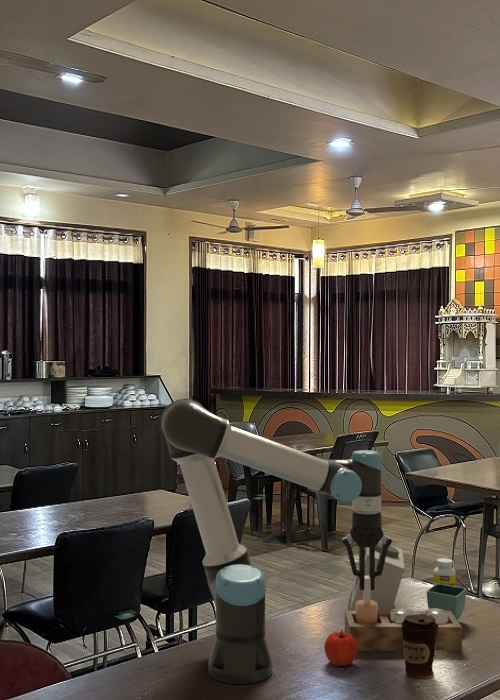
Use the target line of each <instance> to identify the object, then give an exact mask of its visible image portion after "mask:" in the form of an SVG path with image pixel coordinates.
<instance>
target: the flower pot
mask: <svg viewBox="0 0 500 700" xmlns="http://www.w3.org/2000/svg"><path fill="white" fill-rule="evenodd" d="M466 598H467V587H466V588H465V587H460V586H456V587H455V586H449V585H444V584H435V585H434V584H433V586H431V587H429V588H428V589H427V590H426V601H427V609H430V608H438V609H443V610H446V611H451V612H452V614H453V615H454V617H455V618H456V619H457V621H458V622H459V619H460V618H461V616H462V614H463V611H464V610H465V604H466Z"/></svg>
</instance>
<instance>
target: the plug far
mask: <svg viewBox="0 0 500 700" xmlns="http://www.w3.org/2000/svg"><path fill="white" fill-rule="evenodd" d="M425 611H426V615H427V616H431V617H433V618H435V619H436V621H435V623H437V624H448V612H447V611H446V610H443V609H438V608H430V609H428V608H427V609H425Z"/></svg>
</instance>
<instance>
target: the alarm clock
mask: <svg viewBox="0 0 500 700" xmlns="http://www.w3.org/2000/svg"><path fill="white" fill-rule="evenodd" d="M382 544H383V543H382V540H380V541H379V543H378V544H377V545H376V546H375V570H376V568H377V564H378V560H379V555H380V551H381V547H382ZM357 570H359V567H358V569H357ZM404 572H405V562H404V554H403V549H401V548H399V547H397V546H393V545H391V544H390V546H389V547H388V550H387V555H386V559H385V563H384V567H383V571H382V575H381V576H376V577H375V589H374V590H371V600H373V601H375V602H377V603H378V611H391V610H392V609H395V608H396V607H395V602H396V598H397V595H398V591H399V588H400V586H401V581H402V578H403V575H404ZM365 576H369V547H366V548H365ZM358 600H363V590H360V587H359V577H358V576H355V579H354V582H353V585H352V588H351V591H350V595H349V599H348V605H347V610H351V611H356V601H358Z"/></svg>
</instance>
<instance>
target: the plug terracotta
mask: <svg viewBox="0 0 500 700" xmlns="http://www.w3.org/2000/svg"><path fill="white" fill-rule="evenodd" d="M356 623H378V603H377V602H375V601H373V600H371V604H365V603H364V601H363V600H358V601H356Z"/></svg>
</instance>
